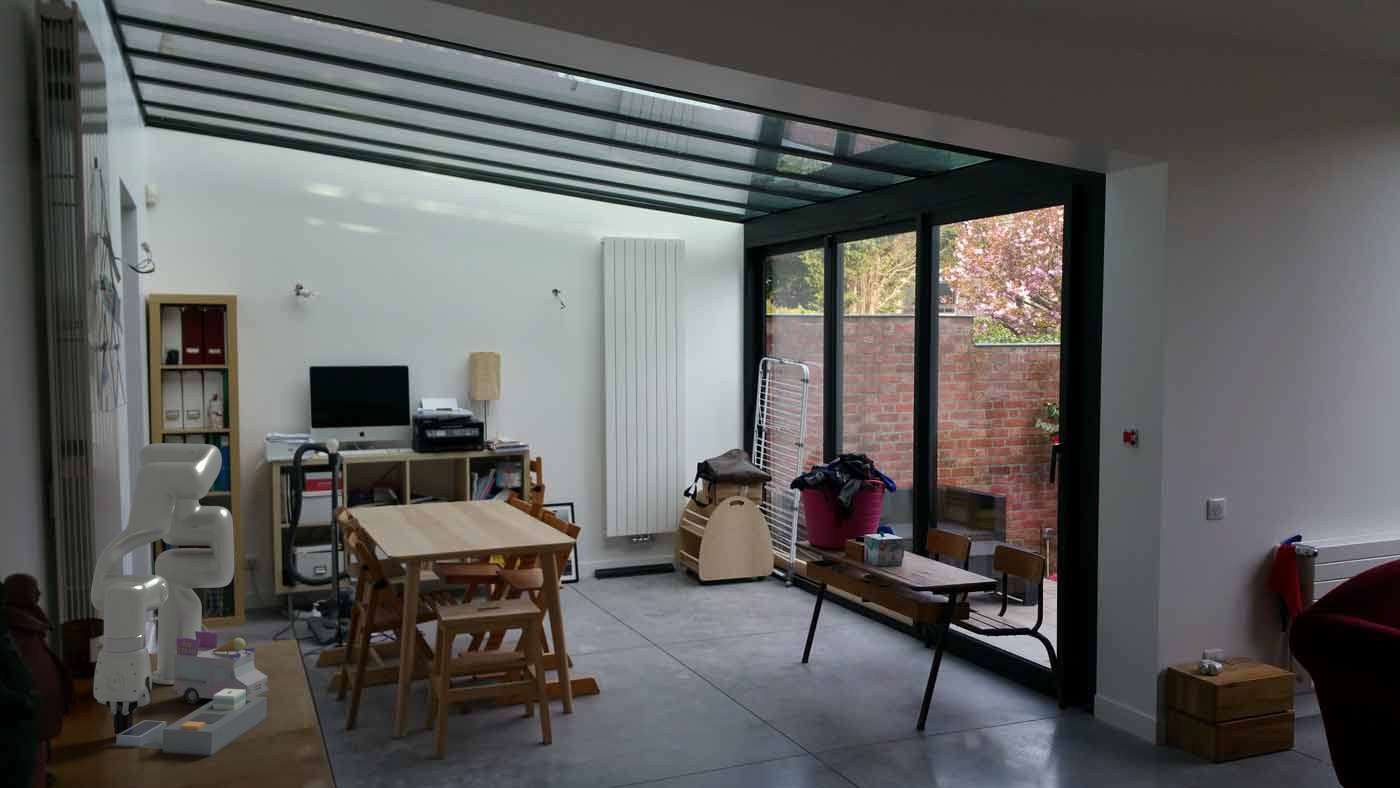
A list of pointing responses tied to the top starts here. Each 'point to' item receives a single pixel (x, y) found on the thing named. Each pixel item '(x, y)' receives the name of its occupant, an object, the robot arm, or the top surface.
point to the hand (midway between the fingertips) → (123, 731)
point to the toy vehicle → (215, 668)
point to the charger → (229, 699)
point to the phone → (141, 733)
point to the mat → (150, 743)
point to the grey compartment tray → (212, 727)
